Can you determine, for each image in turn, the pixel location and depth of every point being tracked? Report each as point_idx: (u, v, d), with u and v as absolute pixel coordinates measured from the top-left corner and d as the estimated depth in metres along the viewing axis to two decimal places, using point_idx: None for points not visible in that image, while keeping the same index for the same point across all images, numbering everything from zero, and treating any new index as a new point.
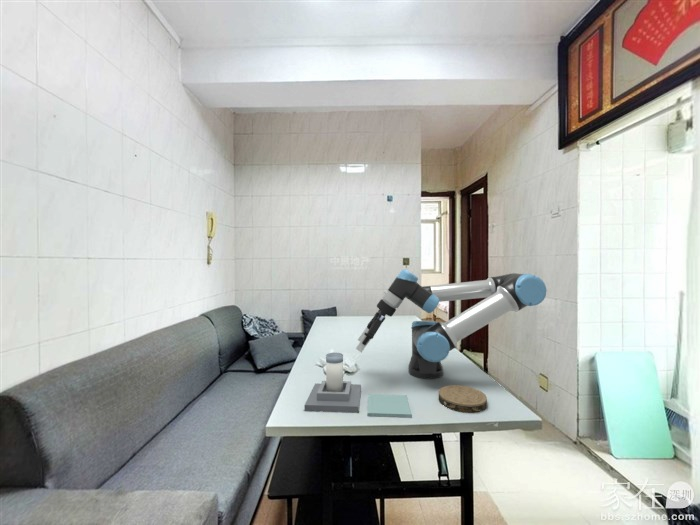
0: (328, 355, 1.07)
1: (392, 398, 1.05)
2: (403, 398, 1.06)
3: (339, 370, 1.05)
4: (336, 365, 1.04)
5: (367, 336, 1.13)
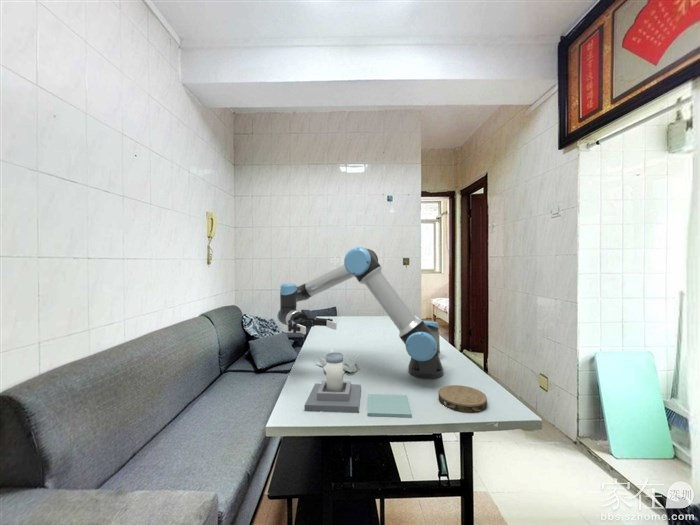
0: (328, 355, 1.07)
1: (392, 398, 1.05)
2: (403, 398, 1.06)
3: (339, 370, 1.05)
4: (336, 365, 1.04)
5: (292, 329, 1.16)
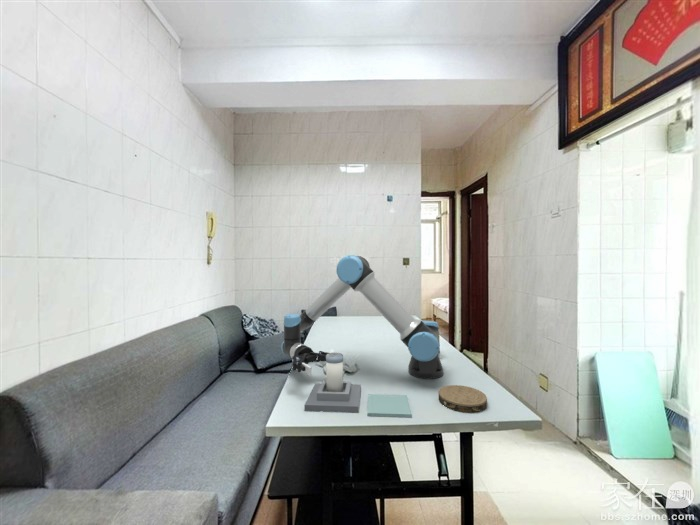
0: (328, 355, 1.07)
1: (392, 398, 1.05)
2: (403, 398, 1.06)
3: (339, 370, 1.05)
4: (336, 365, 1.04)
5: (297, 368, 1.12)
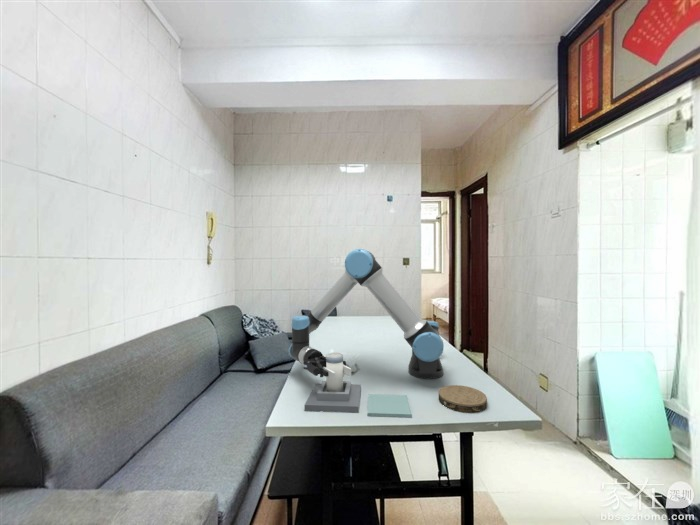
0: (328, 355, 1.07)
1: (392, 398, 1.05)
2: (403, 398, 1.06)
3: (339, 370, 1.05)
4: (336, 365, 1.04)
5: (319, 373, 1.06)
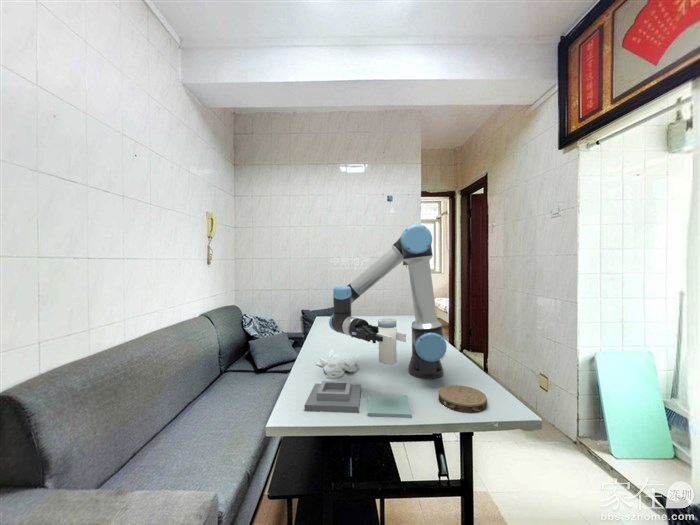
0: (381, 320, 1.02)
1: (392, 398, 1.05)
2: (403, 398, 1.06)
3: (393, 335, 0.99)
4: (390, 330, 0.99)
5: (372, 339, 1.00)
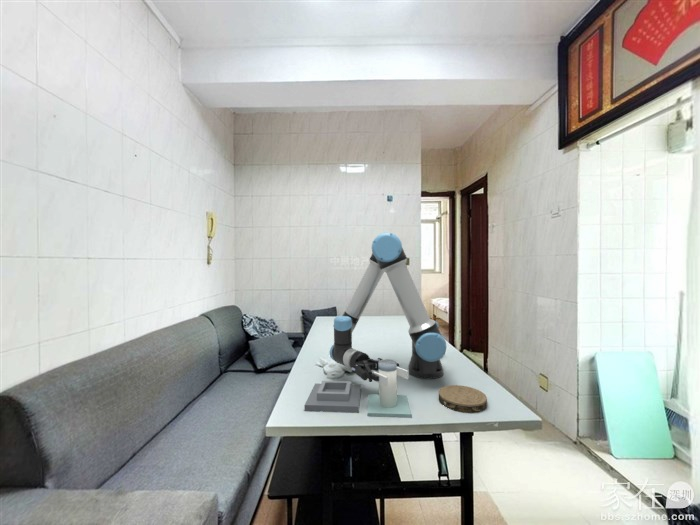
0: (381, 362, 1.01)
1: None
2: (403, 398, 1.06)
3: (393, 379, 0.99)
4: (390, 373, 0.99)
5: (368, 378, 1.00)
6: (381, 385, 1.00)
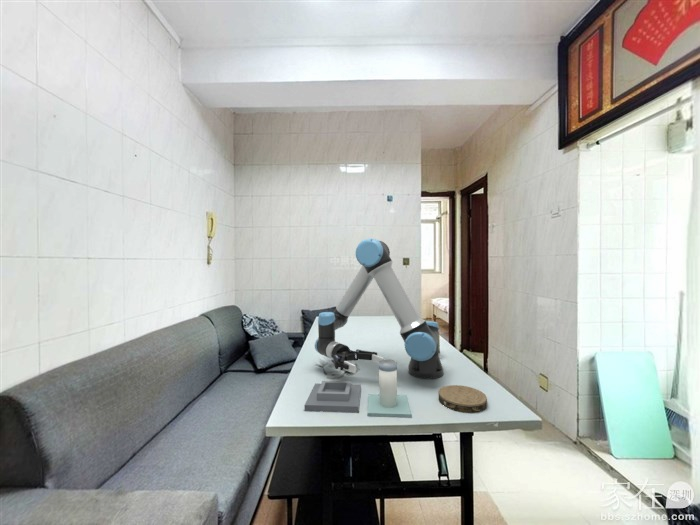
0: (381, 362, 1.01)
1: None
2: (403, 398, 1.06)
3: (393, 379, 0.99)
4: (391, 373, 0.99)
5: (339, 366, 1.10)
6: (381, 385, 1.00)
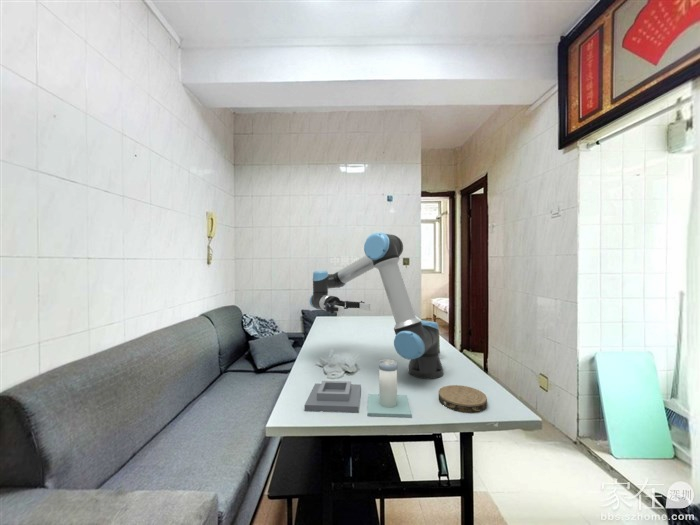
0: (381, 362, 1.02)
1: None
2: (403, 398, 1.06)
3: (394, 379, 0.99)
4: (391, 373, 0.99)
5: (330, 310, 1.26)
6: (381, 385, 1.00)
